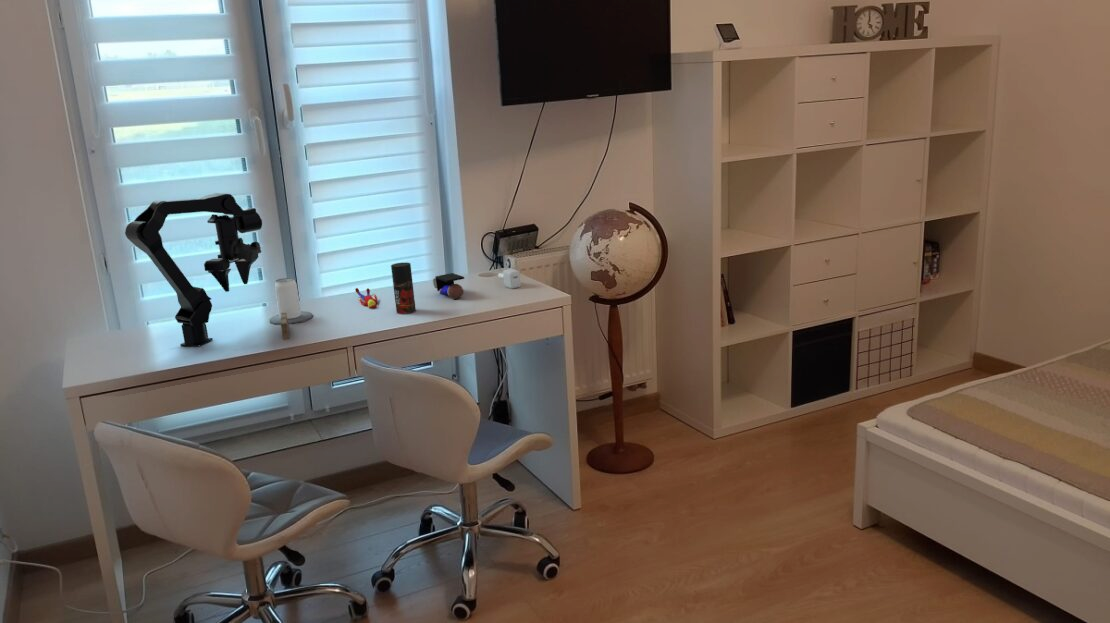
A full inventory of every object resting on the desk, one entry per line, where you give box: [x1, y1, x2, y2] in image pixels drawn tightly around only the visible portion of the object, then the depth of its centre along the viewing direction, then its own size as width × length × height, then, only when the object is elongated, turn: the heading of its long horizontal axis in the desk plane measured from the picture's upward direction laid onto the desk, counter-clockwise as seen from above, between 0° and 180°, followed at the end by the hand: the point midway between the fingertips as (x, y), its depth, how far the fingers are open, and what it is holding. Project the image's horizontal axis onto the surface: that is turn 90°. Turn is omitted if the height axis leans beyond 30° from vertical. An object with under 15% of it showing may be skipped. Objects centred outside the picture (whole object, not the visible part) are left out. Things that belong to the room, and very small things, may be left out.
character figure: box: [354, 287, 378, 310], centre depth 280 cm, size 6×4×20 cm
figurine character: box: [432, 272, 465, 300], centre depth 281 cm, size 7×8×15 cm
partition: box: [280, 312, 290, 340], centre depth 249 cm, size 14×2×4 cm, turn 17°
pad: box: [268, 310, 313, 326], centre depth 266 cm, size 13×13×1 cm
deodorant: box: [390, 262, 416, 315], centre depth 263 cm, size 6×6×15 cm
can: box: [274, 277, 302, 320], centre depth 264 cm, size 6×6×12 cm
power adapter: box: [495, 268, 521, 290], centre depth 289 cm, size 11×5×6 cm, turn 32°
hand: (236, 287), depth 253 cm, fingers open, 9 cm apart
